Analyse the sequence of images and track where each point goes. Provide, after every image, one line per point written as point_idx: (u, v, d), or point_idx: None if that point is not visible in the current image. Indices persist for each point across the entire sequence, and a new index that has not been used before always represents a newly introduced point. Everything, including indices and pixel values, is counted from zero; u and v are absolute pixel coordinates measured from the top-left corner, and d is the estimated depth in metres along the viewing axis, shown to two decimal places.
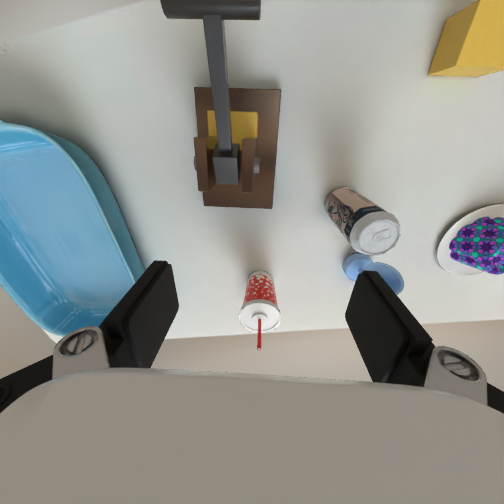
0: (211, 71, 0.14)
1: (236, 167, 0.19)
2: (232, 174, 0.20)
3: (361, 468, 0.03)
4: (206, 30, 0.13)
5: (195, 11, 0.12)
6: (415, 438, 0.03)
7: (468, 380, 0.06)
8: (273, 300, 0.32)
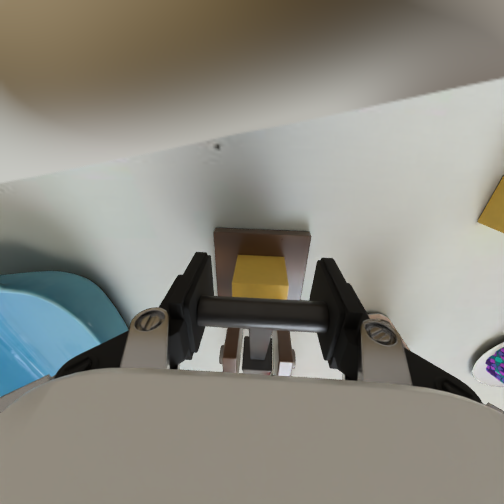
0: (252, 342, 0.12)
1: (269, 373, 0.17)
2: (263, 374, 0.17)
3: (361, 468, 0.03)
4: (252, 331, 0.10)
5: (241, 327, 0.09)
6: (415, 438, 0.03)
7: (390, 345, 0.07)
8: None
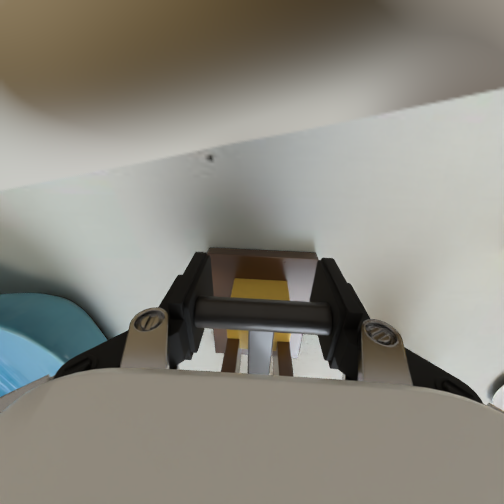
0: (251, 362, 0.10)
1: None
2: None
3: (361, 468, 0.03)
4: (251, 339, 0.09)
5: (240, 329, 0.09)
6: (415, 438, 0.03)
7: (390, 345, 0.07)
8: None
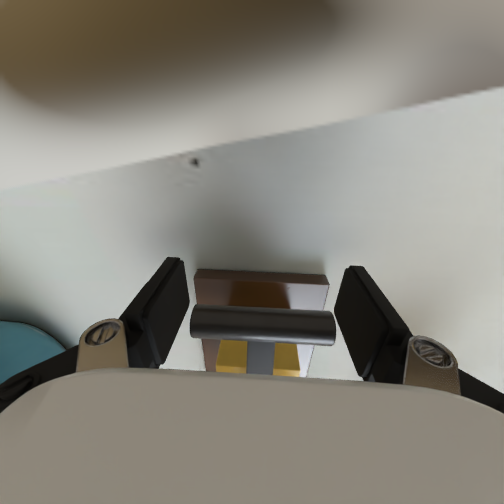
0: None
1: None
2: None
3: (361, 468, 0.03)
4: (250, 354, 0.09)
5: (238, 338, 0.08)
6: (415, 438, 0.03)
7: (442, 366, 0.06)
8: None
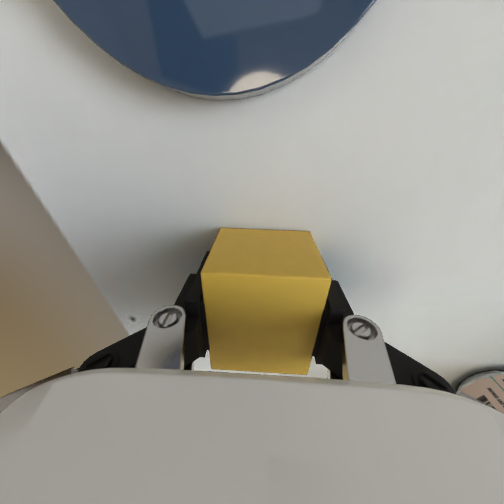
0: None
1: None
2: None
3: (361, 468, 0.03)
4: None
5: None
6: (415, 438, 0.03)
7: (371, 339, 0.07)
8: None
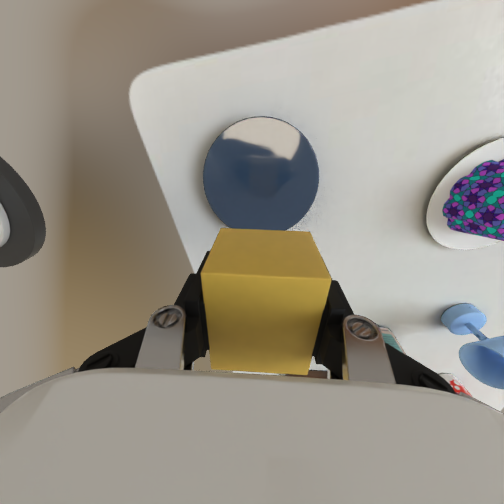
0: None
1: None
2: None
3: (361, 468, 0.03)
4: None
5: None
6: (415, 438, 0.03)
7: (371, 339, 0.07)
8: None
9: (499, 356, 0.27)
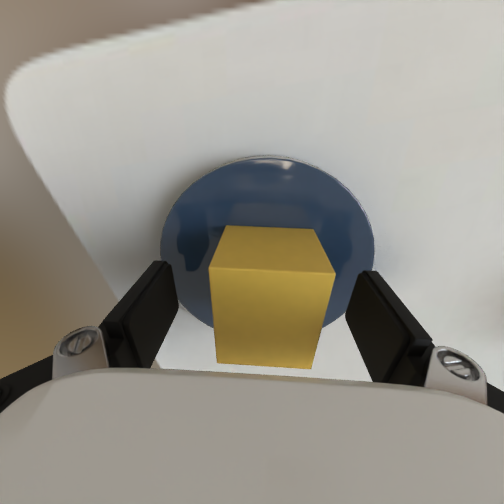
0: None
1: None
2: None
3: (361, 468, 0.03)
4: None
5: None
6: (415, 438, 0.03)
7: (468, 380, 0.06)
8: None
9: None
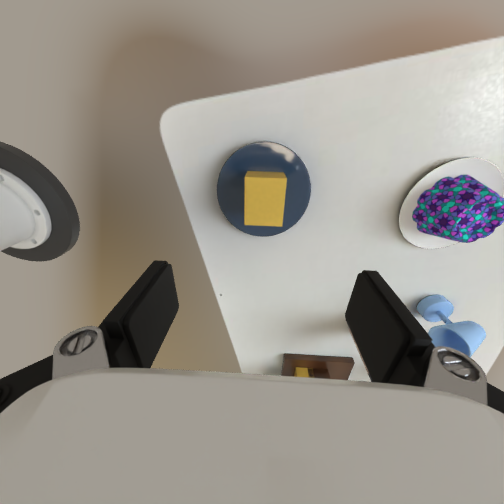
0: None
1: None
2: None
3: (361, 468, 0.03)
4: None
5: None
6: (415, 438, 0.03)
7: (468, 380, 0.06)
8: None
9: (462, 338, 0.32)
